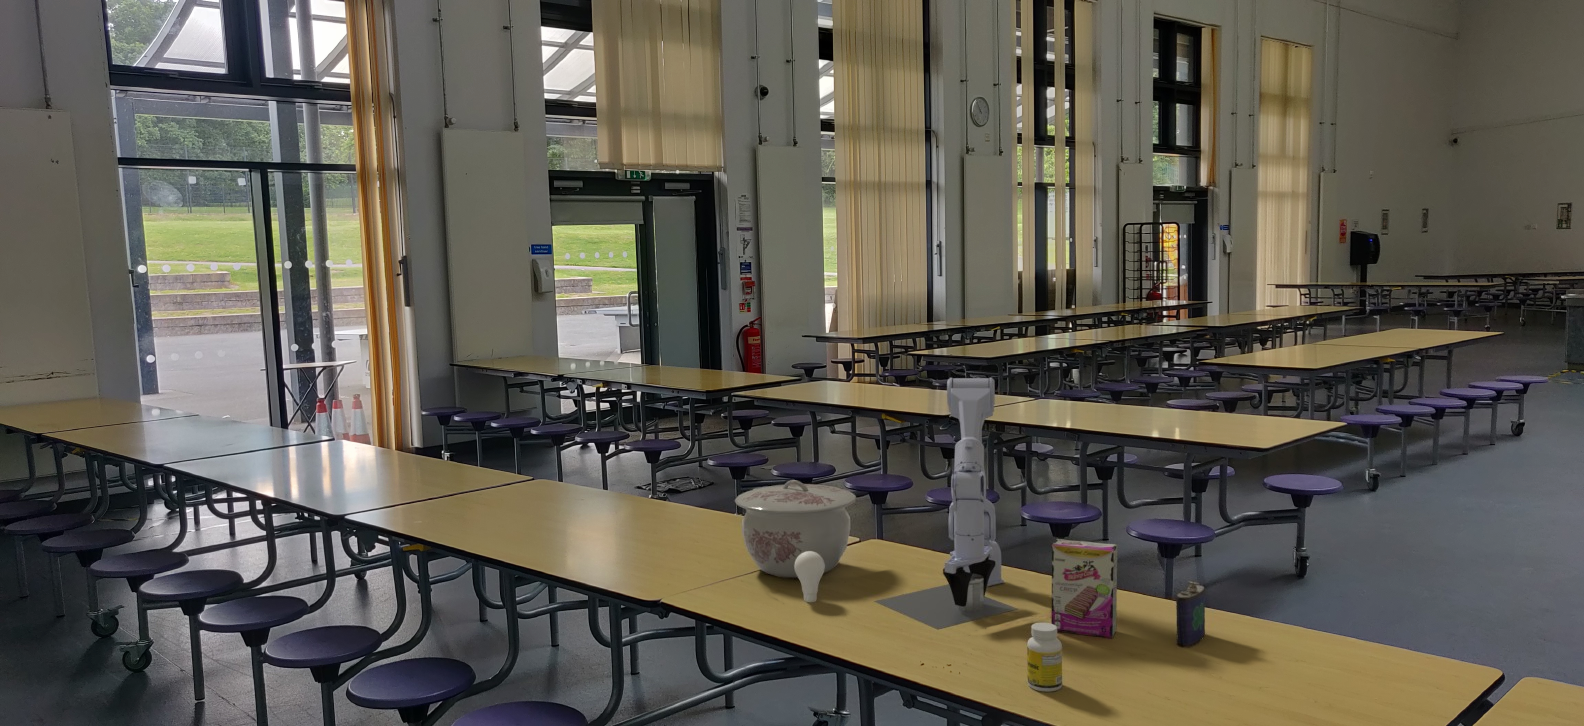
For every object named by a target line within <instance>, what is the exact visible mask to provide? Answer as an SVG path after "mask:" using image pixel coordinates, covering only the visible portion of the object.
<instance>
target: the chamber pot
mask: <svg viewBox="0 0 1584 726" xmlns="http://www.w3.org/2000/svg"><path fill="white" fill-rule="evenodd" d="M856 498H857V496H856V495H855V493H853V492H851V491H850V490H847V489H843V488H840V487H836V486H833V485H832V486H831V485H826V484H825V485H824V484H812V483H802V482H801V481H800V480H795V479H790V480H787V481H786V483H784V484H776V485H771V486H770V485H769V486H762V487H759V488H758V487H756V488H752V489H751V490H748V491H746V492H742V493H741V494H738V496H737V497H736V498H735V499H734V503H735V504H736V505H737V506H738V507H740V508H743V510H744V509H745V514H744V516H743V517H742V520H741V533H742V538H743V541H744V546H745V549H746V550H747V552H748V554H749V555H750V557H751V559H752V561H754V563H755V565H756V567H757V568H759V570H760V571H761V572H764V573H766V574H769V575H771V576H774V577H778V578H785V579H786V578H787V579H799V578H798V576H797V574H796V572H795V568H794V565H795V561H796V559H797V557H798V556H799V555H800V554H802V553H804V552H806V551H813V552H816V553H817V554H819V555H820V556H821V557H822V559H823V561H824V564H825V569H824V573H823V574H825V573H827V572H830V571H831V570H833V569H834V568H835V567H836V566H837V565H838V564H839V562H840V560H841V558H842V556H843V555H844V553H845V552H846V550H847V547H848V544H849V542H848V541H849V538H850V531H851V517H850V514H849V513H848V511H847V510H846V507H849V506H850V505H851V504H853V503H855V502H856V500H857V499H856Z"/></svg>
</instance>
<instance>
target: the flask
mask: <svg viewBox="0 0 1584 726" xmlns="http://www.w3.org/2000/svg"><path fill="white" fill-rule="evenodd" d="M1186 583H1188V584H1189V585H1188V587H1187V588H1186V589H1187V590H1185V591H1180V593H1179V592H1178V593H1177V595H1176V597H1175V598H1176V599H1175V600H1176V601H1175V603H1176V605H1175V606H1176V607H1175V608H1176V646H1177V647H1180V648H1185V649H1186V648H1191V647H1194V646H1196V645H1197V644H1199V643H1200V642H1201V641H1202V640H1203V639H1204V638H1205V636H1206V629H1205V627H1206V625H1205V624H1206V620H1205V619H1206V618H1205V617H1206V615H1205V613H1206V601H1205V600H1206V587H1204V586H1203V585H1200V582H1194V581H1191V580H1188V581H1187V582H1186ZM1202 638H1203V639H1202Z"/></svg>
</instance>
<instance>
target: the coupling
mask: <svg viewBox="0 0 1584 726" xmlns="http://www.w3.org/2000/svg"><path fill="white" fill-rule="evenodd" d="M956 609H958V610H960V611H964V612H977V611H981V610H983V609H984V586H983V576H981V575H978V574H972V577H971V579H970V582H969V586H968V594H967V603H966V606H964V607H962V606H958V605H956Z"/></svg>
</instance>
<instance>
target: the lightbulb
mask: <svg viewBox="0 0 1584 726" xmlns="http://www.w3.org/2000/svg"><path fill="white" fill-rule="evenodd" d="M794 568H795V572H796V574H797V576H798V578H797V579H799V581H800V584H801V590H802V591H801V592H802V593H803V601H804V602H806V603H814V602H816V601H817V600H818V599H817V598H818V597H817V595H818V594H817V593H818V591H819V584H820V580H821V579H822V577H823V574H825V573H824V569H825V564H824V561H823V559H822V557H821V556H820V555H819V554H817V553H816V552H813V551H806V552H804V553H802V554H800V555H799V556H798V557H797V559H796V561H795V565H794Z"/></svg>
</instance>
